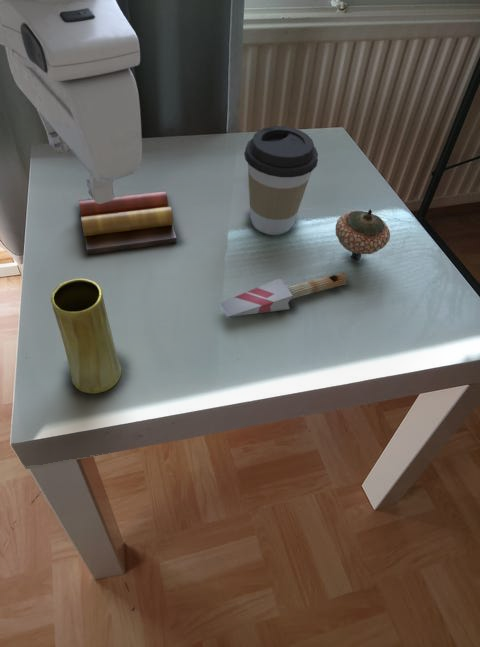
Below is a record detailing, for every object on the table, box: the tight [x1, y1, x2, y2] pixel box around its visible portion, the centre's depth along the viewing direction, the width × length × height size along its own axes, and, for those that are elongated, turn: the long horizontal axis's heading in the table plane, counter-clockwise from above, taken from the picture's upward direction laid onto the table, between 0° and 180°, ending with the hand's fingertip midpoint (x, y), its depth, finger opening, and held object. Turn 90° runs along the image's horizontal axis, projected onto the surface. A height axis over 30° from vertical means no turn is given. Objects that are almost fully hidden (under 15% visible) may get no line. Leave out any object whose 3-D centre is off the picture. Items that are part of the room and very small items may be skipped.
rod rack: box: [78, 190, 178, 255], centre depth 82 cm, size 14×12×4 cm
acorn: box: [335, 208, 391, 262], centre depth 78 cm, size 8×8×10 cm
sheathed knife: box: [219, 272, 348, 317], centre depth 73 cm, size 4×3×20 cm
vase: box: [50, 278, 122, 394], centre depth 58 cm, size 6×6×14 cm
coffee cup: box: [243, 125, 319, 236], centre depth 81 cm, size 11×11×15 cm
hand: (80, 172), depth 47 cm, fingers open, 8 cm apart
